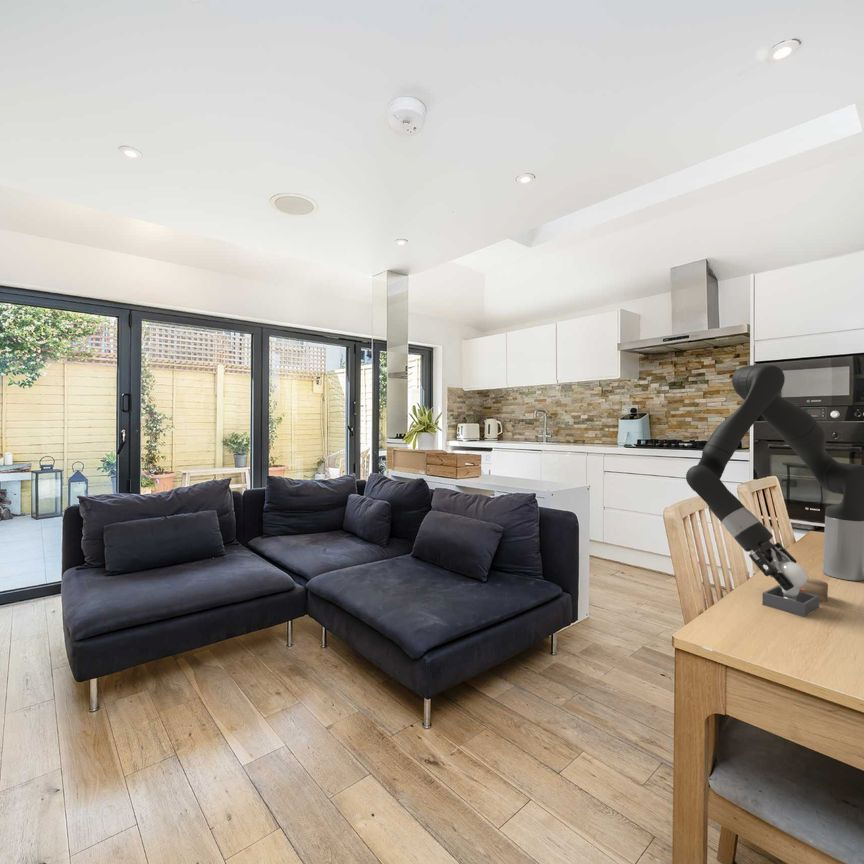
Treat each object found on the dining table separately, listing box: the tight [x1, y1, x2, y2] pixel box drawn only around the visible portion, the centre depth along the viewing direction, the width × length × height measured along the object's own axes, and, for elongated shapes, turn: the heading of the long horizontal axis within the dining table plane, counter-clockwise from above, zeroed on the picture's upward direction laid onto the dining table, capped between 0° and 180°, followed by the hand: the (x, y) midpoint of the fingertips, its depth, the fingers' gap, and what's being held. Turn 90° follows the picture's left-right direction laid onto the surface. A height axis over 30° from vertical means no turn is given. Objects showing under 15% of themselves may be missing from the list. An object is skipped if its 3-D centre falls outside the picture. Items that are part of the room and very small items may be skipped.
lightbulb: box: [779, 562, 808, 601], centre depth 116 cm, size 6×6×11 cm
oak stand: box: [802, 576, 829, 604], centre depth 123 cm, size 8×8×4 cm
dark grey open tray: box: [761, 584, 820, 618], centre depth 116 cm, size 10×9×4 cm
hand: (797, 585), depth 115 cm, fingers open, 8 cm apart
